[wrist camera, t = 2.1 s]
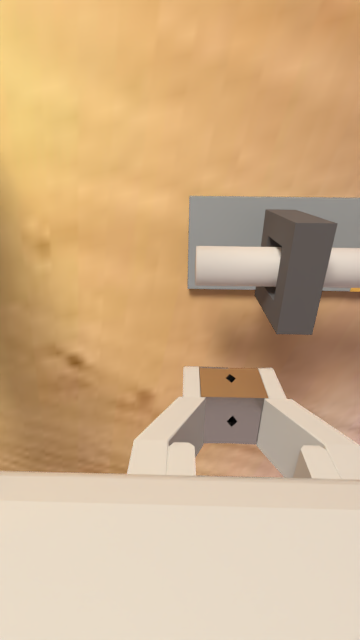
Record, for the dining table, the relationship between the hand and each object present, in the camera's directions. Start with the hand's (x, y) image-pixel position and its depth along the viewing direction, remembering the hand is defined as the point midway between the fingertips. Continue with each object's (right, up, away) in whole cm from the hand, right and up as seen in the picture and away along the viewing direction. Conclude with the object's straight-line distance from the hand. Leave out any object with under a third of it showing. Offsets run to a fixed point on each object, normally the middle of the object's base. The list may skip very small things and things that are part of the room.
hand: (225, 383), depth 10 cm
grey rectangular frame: (+7, +8, +16) cm, 19 cm away
